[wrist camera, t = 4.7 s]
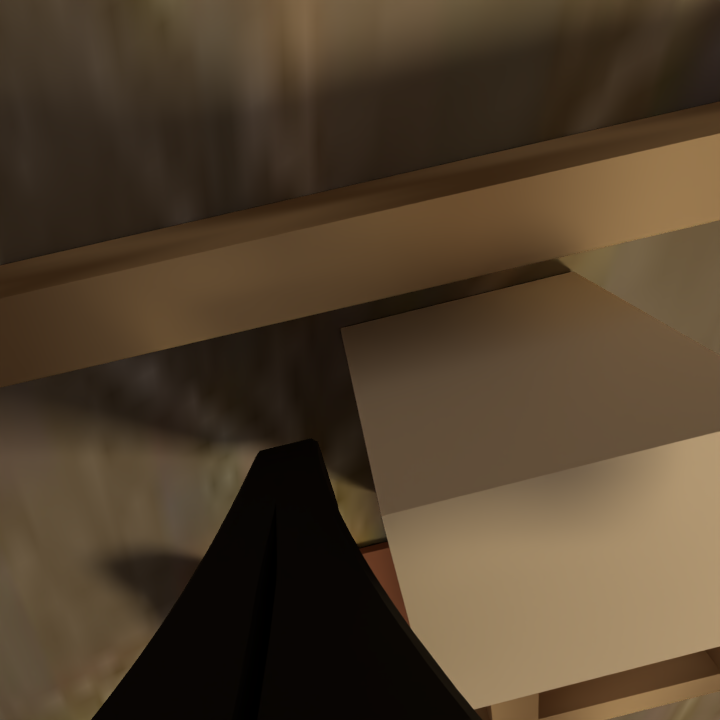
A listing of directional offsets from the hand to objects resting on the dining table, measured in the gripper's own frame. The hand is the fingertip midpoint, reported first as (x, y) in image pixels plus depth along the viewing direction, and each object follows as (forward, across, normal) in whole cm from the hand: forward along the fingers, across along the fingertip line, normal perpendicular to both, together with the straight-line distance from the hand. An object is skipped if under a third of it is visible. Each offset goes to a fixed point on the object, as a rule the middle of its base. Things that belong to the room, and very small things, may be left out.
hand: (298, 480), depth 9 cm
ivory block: (+1, -4, 0) cm, 4 cm away
